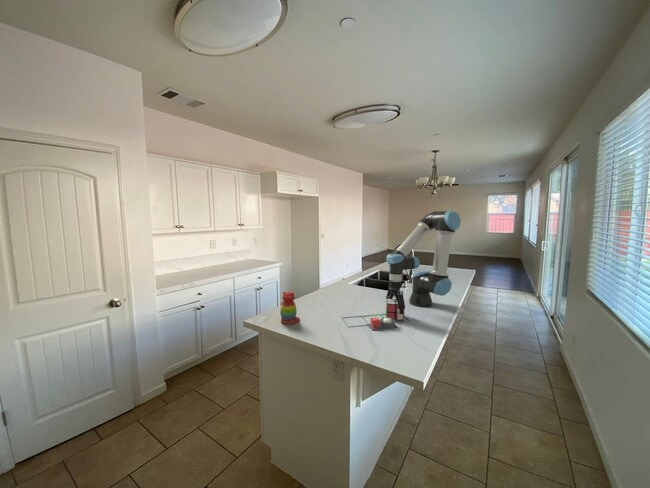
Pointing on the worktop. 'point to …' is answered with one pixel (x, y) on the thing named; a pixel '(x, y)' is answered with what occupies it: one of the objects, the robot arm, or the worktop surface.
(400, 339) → the worktop surface
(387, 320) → the plunger
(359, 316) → the track
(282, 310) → the stacking bear
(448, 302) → the worktop surface
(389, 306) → the puzzle cube
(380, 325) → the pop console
